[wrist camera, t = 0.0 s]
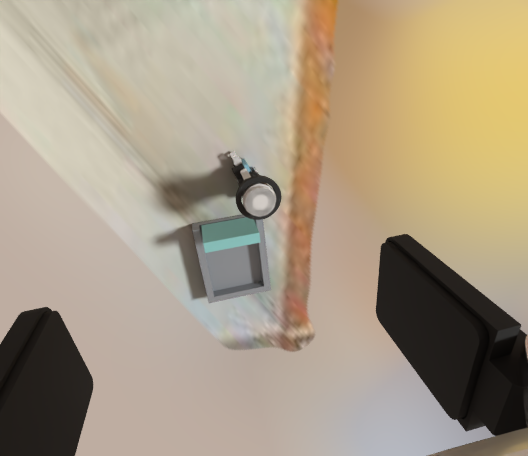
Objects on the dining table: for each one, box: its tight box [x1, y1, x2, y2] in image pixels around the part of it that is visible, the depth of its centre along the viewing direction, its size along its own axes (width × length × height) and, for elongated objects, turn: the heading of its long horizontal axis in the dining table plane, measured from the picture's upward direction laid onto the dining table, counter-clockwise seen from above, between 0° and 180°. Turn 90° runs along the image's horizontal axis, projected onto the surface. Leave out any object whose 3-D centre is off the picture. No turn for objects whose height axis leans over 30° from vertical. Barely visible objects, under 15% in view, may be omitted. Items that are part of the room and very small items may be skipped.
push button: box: [230, 151, 281, 220], centre depth 42 cm, size 7×5×10 cm
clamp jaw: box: [201, 217, 260, 253], centre depth 46 cm, size 2×7×5 cm, turn 95°
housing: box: [192, 215, 271, 303], centre depth 51 cm, size 13×10×2 cm
